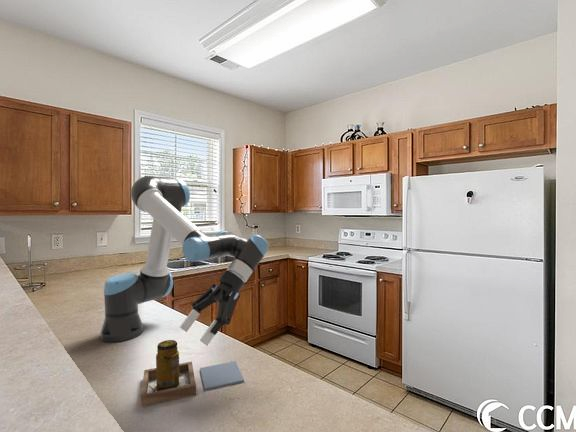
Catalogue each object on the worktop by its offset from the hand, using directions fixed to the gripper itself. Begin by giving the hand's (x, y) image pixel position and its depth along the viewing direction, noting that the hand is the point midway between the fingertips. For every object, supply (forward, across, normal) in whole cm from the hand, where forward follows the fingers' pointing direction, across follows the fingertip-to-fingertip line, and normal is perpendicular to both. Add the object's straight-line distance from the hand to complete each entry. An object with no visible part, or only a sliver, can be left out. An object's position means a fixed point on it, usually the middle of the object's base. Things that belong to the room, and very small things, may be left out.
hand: (192, 336), depth 92 cm
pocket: (+14, +1, -4) cm, 14 cm away
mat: (+4, -4, -14) cm, 15 cm away
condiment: (+14, +1, -4) cm, 15 cm away
